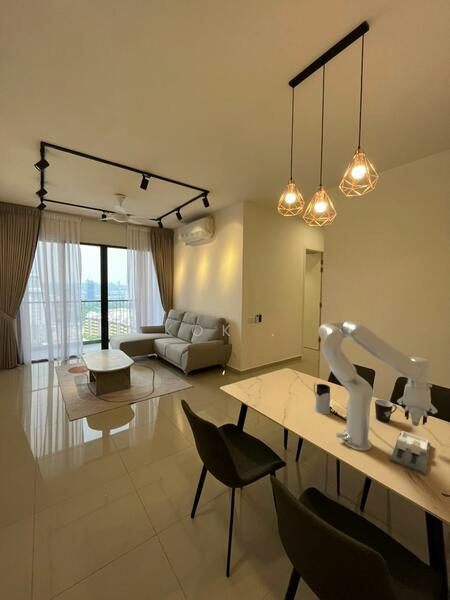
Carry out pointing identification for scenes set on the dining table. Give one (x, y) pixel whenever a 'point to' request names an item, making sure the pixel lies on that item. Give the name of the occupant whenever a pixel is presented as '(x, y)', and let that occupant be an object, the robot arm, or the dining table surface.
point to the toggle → (402, 443)
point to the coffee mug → (383, 410)
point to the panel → (411, 459)
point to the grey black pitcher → (322, 398)
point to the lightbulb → (415, 415)
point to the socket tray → (413, 437)
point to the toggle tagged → (415, 447)
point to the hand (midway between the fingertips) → (415, 420)
